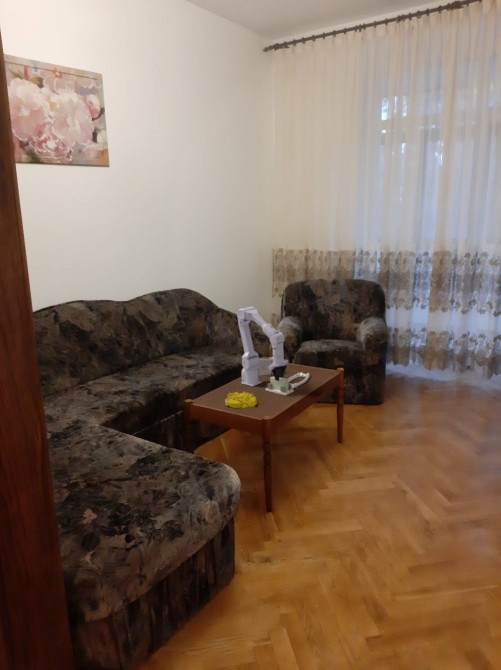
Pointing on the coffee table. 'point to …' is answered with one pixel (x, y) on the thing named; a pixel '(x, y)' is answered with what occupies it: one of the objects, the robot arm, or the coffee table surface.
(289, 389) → the plate with corner feet
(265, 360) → the hinge
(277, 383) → the long rectangular block
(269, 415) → the coffee table surface
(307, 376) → the door handle
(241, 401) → the yellow textured disc
